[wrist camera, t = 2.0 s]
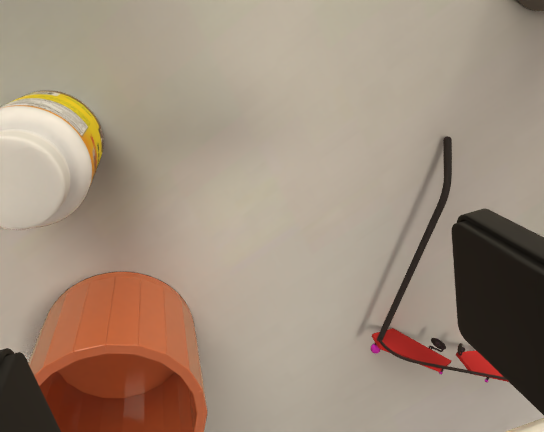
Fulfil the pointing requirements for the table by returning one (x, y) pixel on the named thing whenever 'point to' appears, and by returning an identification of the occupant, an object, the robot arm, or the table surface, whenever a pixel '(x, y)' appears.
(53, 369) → the cup
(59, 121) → the supplement bottle
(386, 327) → the glasses
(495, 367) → the robot arm
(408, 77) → the table surface
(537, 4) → the bottle
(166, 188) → the table surface
